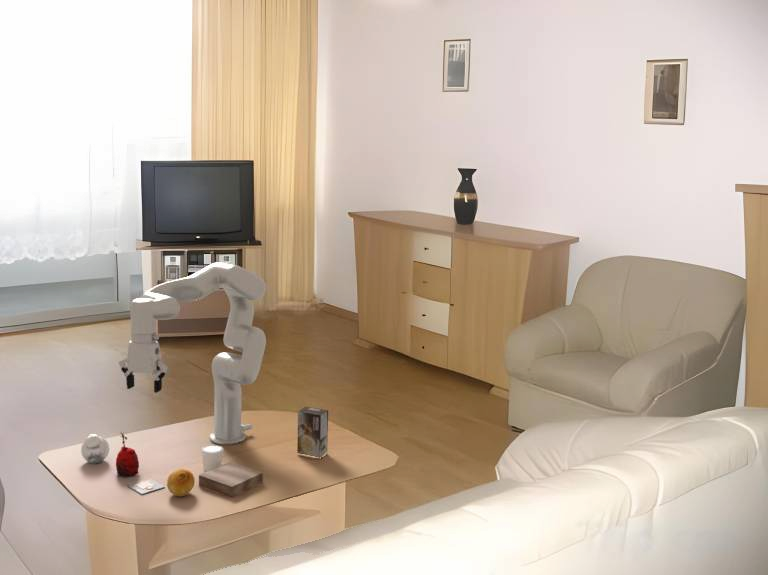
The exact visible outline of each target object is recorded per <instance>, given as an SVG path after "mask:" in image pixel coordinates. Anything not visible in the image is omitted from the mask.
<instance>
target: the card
mask: <svg viewBox="0 0 768 575" xmlns="http://www.w3.org/2000/svg"><path fill="white" fill-rule="evenodd" d="M127 487H128V488H129V487H130V489H131V490H133V491H134V492H136V493H137V494H139V495H141V496H143V495H146V494H149V493H153V492H156V491H160V490H163V489H165V485H162V484H161V483H159V482H157V481H156V480H154V479H151V478H149V479H146V480H143V481H142V480H141V481H139V482H135V483H132V484H129V485H128V484H127Z"/></svg>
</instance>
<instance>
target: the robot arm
mask: <svg viewBox="0 0 768 575" xmlns="http://www.w3.org/2000/svg"><path fill="white" fill-rule="evenodd" d="M219 289H223V291H224V292H225V294H226V297H228V301H229V304H230V309H229V310H230V311H229V314H228V317H227V318H228V319H227V321H226V326H225V330H224V334H223V339H222V340H223V342H222V343H223V344H224V346H225V347H227V348H228V349H231V350H233V351H237V352H242V354H241V355H240V354H236V353H233V352H226V351H225V352H220V353H218V354H217V355H215V356H214V358H213V359H212V362H211V374H212V378H213V385H214V389H213V390H214V400H213V401H214V405H213V406H214V407H213V408H214V412H213V415H214V416H213V418H214V423H213V424H214V425H213V426H214V428H213V432H212V433H210V434H209V440H210V441H211V442H212V443H215V444H219V445H235V444H234V443H236V444H239V443H238V442H240V443H241V441H242V442H243V441H245V440H246V434H245V431H249V430H251V429H253V425H252V423H248V424H247V423H246V424H245V423H244V422H243V423H242V402H243V401H242V394H243V392H242V386H241V385H245V386H248V385H251V384H253V383H254V382H255V381H256V380H257V377H258V376H259V373H260V370H261V367H262V366H261V365H262V361H263V358H264V353H265V349H266V346H267V337H266V334H265V332H264V331H263V330H262V329H261V328H259V327H257V326H253V320H254V316H255V315H254V314H255V307H254V301H258V300H260V299H261V300H262V299H263V297H264V296H265V295H266V291H267V286H266V282H265V280H264V279H263V278H262V277H261V276H259V275H258V274H255V273H254V272H251V271H249V270H248V269H245V268H244V267H242V266H239V265H237V264H232V263H226V262H221V261H220V262H219V261H218V262H213V263H210V264H209V265H207V266H205V267H204V268H202V269H200V270H198V271H196V272H194V273H192V274H190V275H189V276H186V277H182V278H178V279H175V280H171V281H170V280H169V281H166V282H163V283H160V284H158V285H156V286H154V287H152V288H150V289H148V290H146V291H145V292H143V293H142V295H140V297H138V298H135V299H132V301H130V310H129V311H130V341H129V343H128V346H127V347H128V348H127V355H126V358H125V359H122V360H119V361H118V365H119V367H120V369H121V372H122V373H123V374H124V377H126V388H127V389H126V390H130V389H132V388H134V387H135V375H134V373H136V374H137V373H138V374H145V375H152V377H153V378H154V379H155V380H154V381H153V386H154V387H153V391H154V393H156V394H158V393H159V392H160V391H161V390H162V388H163V385H162V384H163V379H164V377H166V376H167V373H168V372H169V369H170V366H168V365H167V364H166V363H164V362H163V361H162V355H161V354H162V352H161V348H160V342H159V341H158V340H159V339H160V336H159V335H158V334H157V332H156V322H157V321H160V320H161V321H164V320H165V321H166V320H168V321H169V320H172V319H174V318H176V317H177V316H178V315H179V314H180V312H181V311H180V310H181V305H180V302H193V301H200V300H202V299H203V298H205V297H207V296H208V295H210V294H212V293H213V292H215V291H217V290H219ZM244 439H245V440H244Z"/></svg>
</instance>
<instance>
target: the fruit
mask: <svg viewBox="0 0 768 575" xmlns="http://www.w3.org/2000/svg"><path fill="white" fill-rule="evenodd" d="M195 482H196V481H195V476H194V474H193V473H192V471H190V470H189V469H188V470H187V469H184V468H178V469H175V470H173V471H172V472H171V473H170V474H169V475H168V478H167V479H166V486H167V489H168V492H170V493H171V494H172V495H173V496H175V497H184V496H186V495H188V494H189V493H190V492H191V491H192V490H193V488H194V486H195Z"/></svg>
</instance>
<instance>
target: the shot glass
mask: <svg viewBox="0 0 768 575" xmlns="http://www.w3.org/2000/svg"><path fill="white" fill-rule="evenodd" d="M201 450H202V451H201V452H202V454H201V455H202V460H203V461H202V464H203V470H204V472H207V471H210V470H212V469H214V468H217V467H219V466H221V465H223V455H224V447H223V446H220V445H216V444H211V445H209V444H208V445H206V446H203V447H202V449H201Z"/></svg>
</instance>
